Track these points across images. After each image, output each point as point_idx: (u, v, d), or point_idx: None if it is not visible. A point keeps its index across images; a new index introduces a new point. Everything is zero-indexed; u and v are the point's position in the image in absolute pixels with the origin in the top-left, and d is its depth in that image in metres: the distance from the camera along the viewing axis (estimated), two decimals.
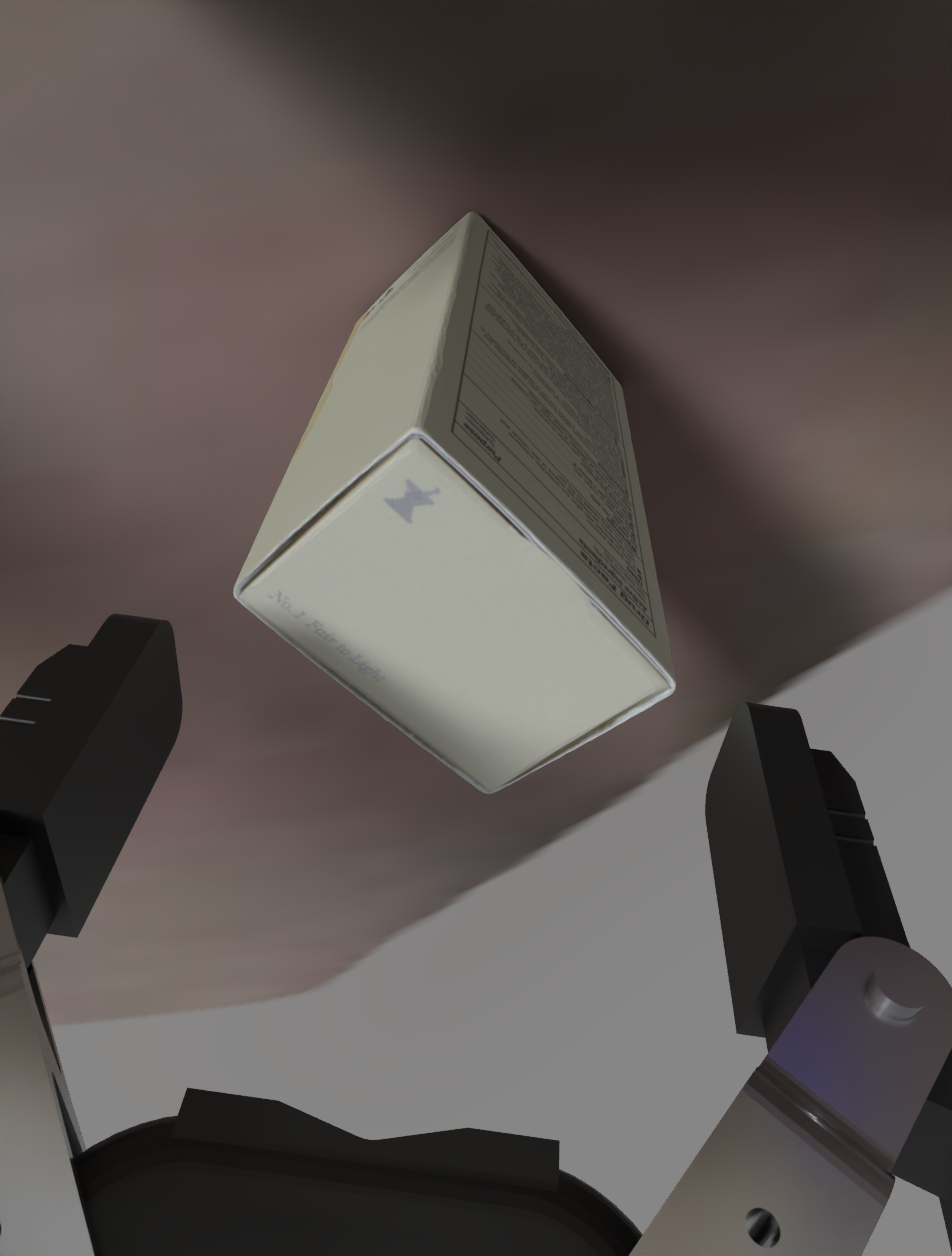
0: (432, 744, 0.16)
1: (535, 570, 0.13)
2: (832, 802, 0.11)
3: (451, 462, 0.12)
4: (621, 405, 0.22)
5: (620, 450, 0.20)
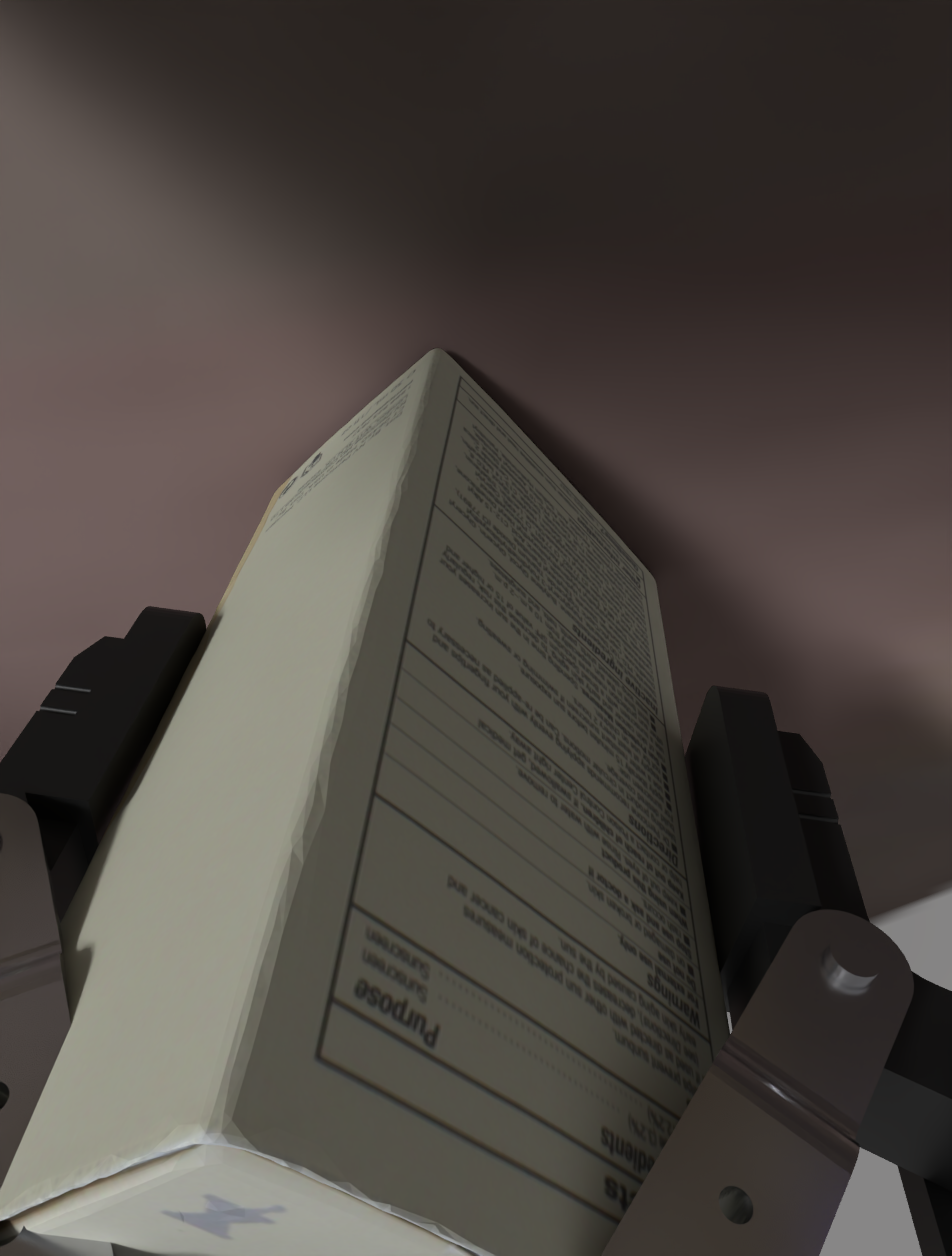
0: None
1: None
2: (798, 783, 0.11)
3: (304, 1172, 0.05)
4: (656, 624, 0.15)
5: (660, 741, 0.13)
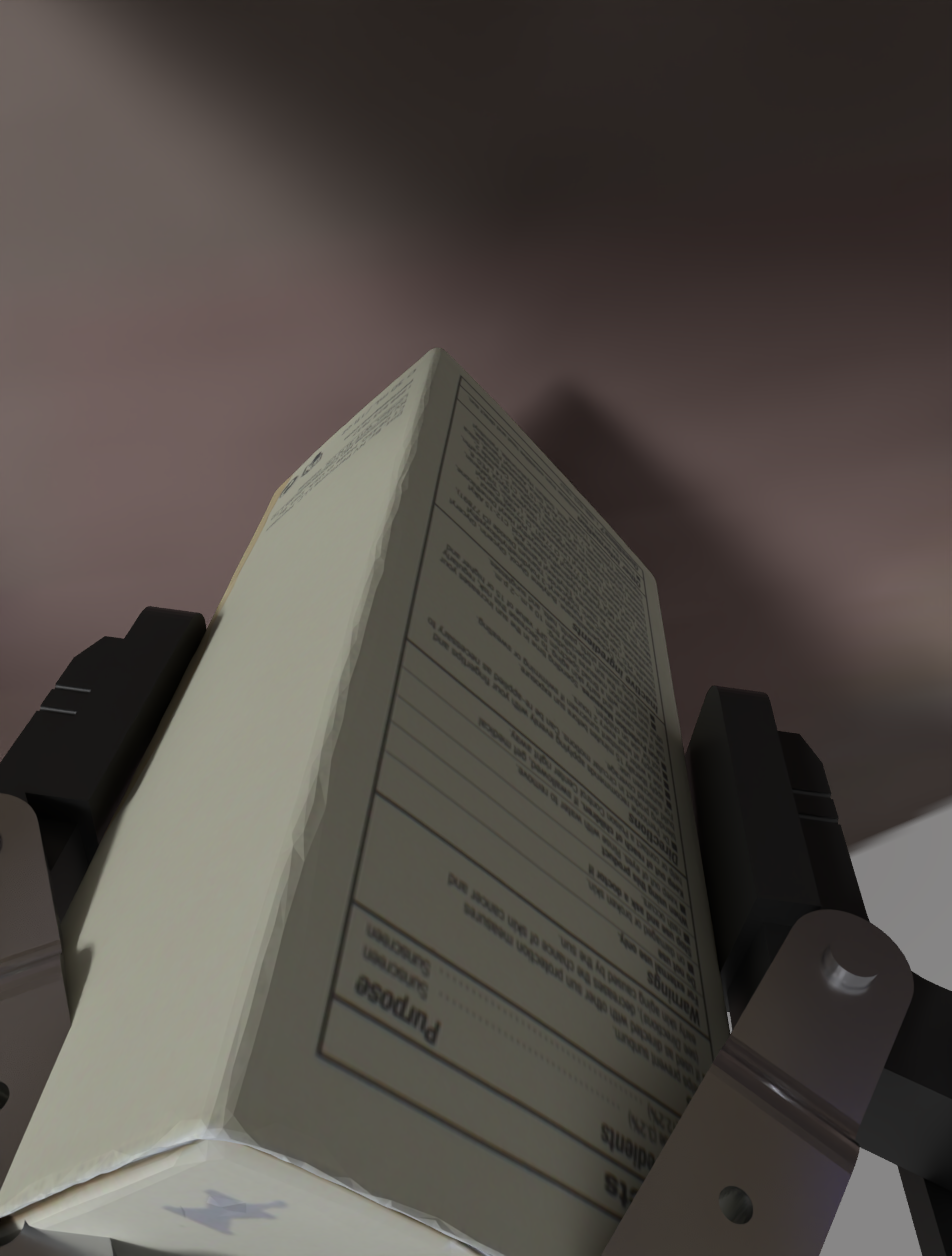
0: None
1: None
2: (798, 783, 0.11)
3: (307, 1167, 0.05)
4: (656, 623, 0.15)
5: (660, 740, 0.13)
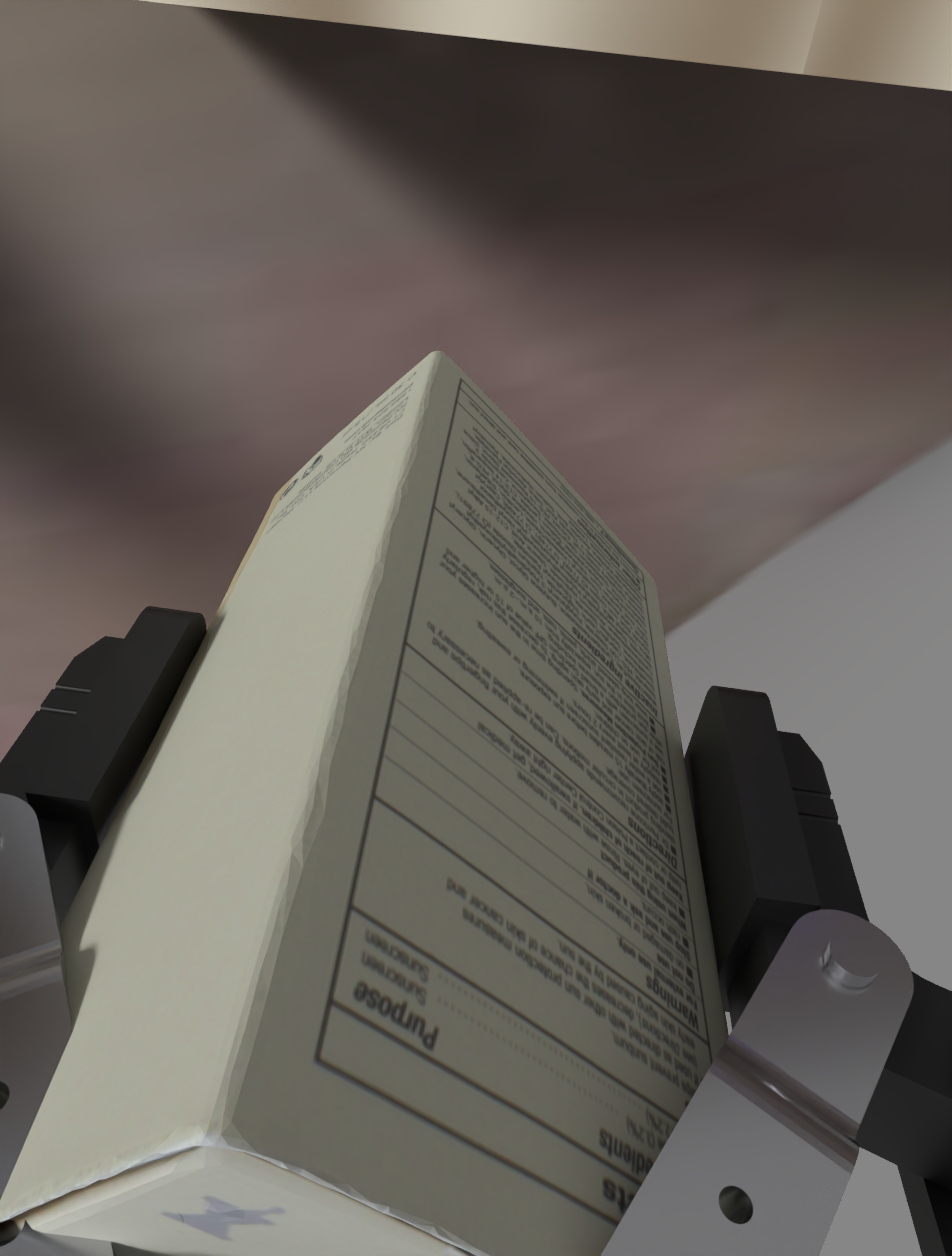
0: None
1: None
2: (798, 783, 0.11)
3: (303, 1173, 0.05)
4: (656, 626, 0.15)
5: (660, 743, 0.13)
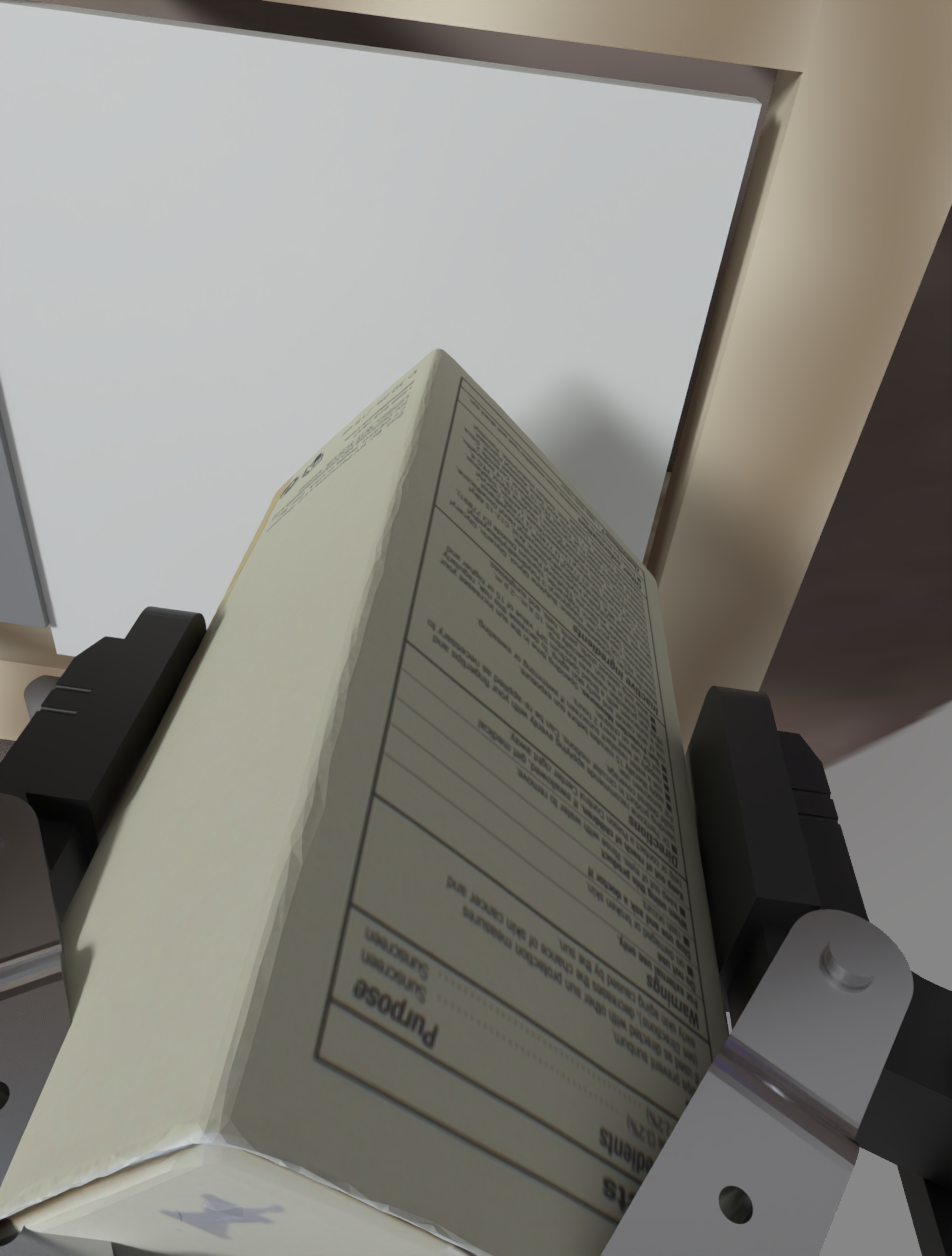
0: None
1: None
2: (798, 782, 0.11)
3: (304, 1172, 0.05)
4: (657, 625, 0.15)
5: (661, 742, 0.13)
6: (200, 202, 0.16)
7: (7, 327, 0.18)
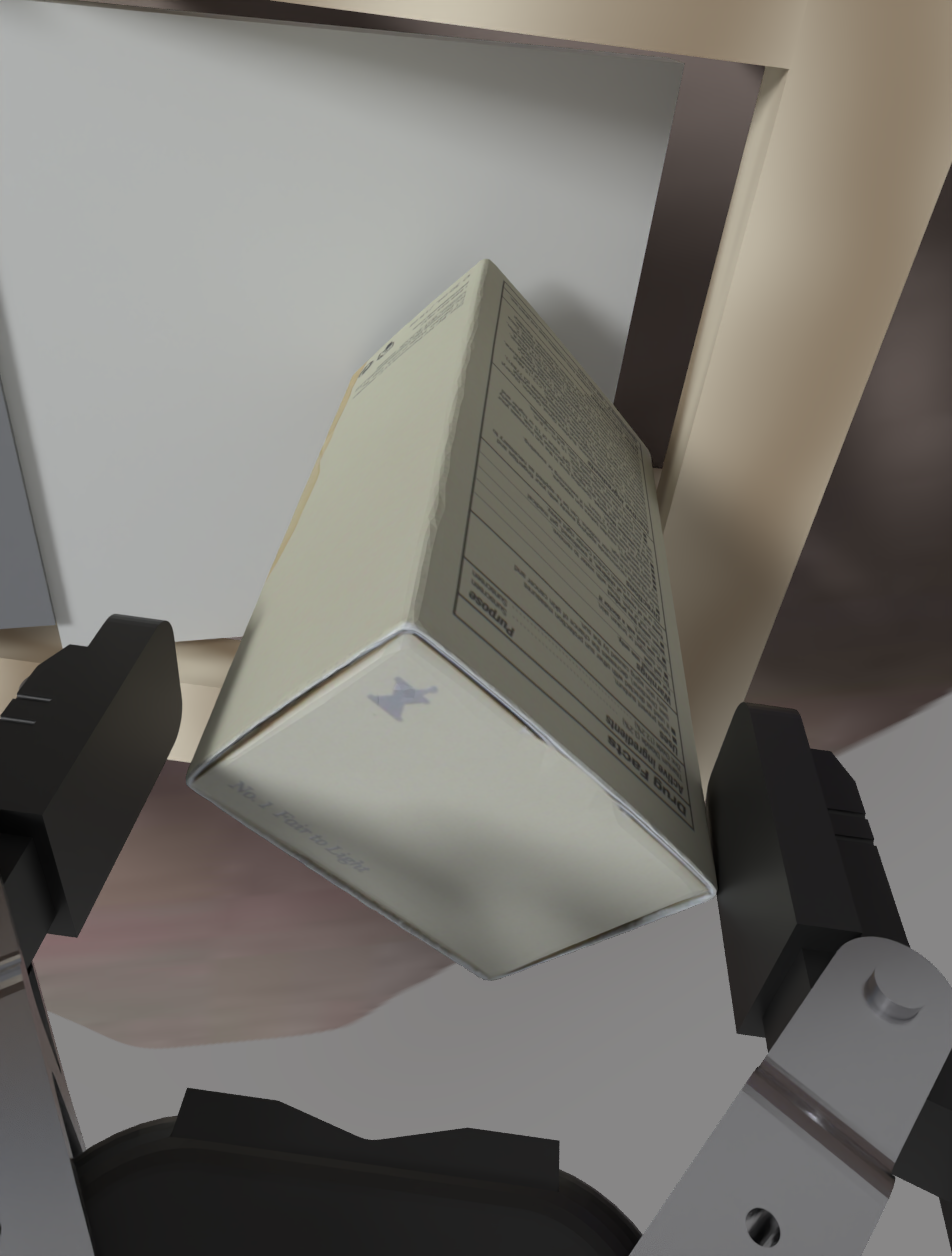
0: (425, 931, 0.13)
1: (552, 774, 0.11)
2: (832, 802, 0.11)
3: (452, 659, 0.10)
4: (650, 481, 0.20)
5: (650, 550, 0.17)
6: (220, 179, 0.18)
7: (18, 322, 0.18)
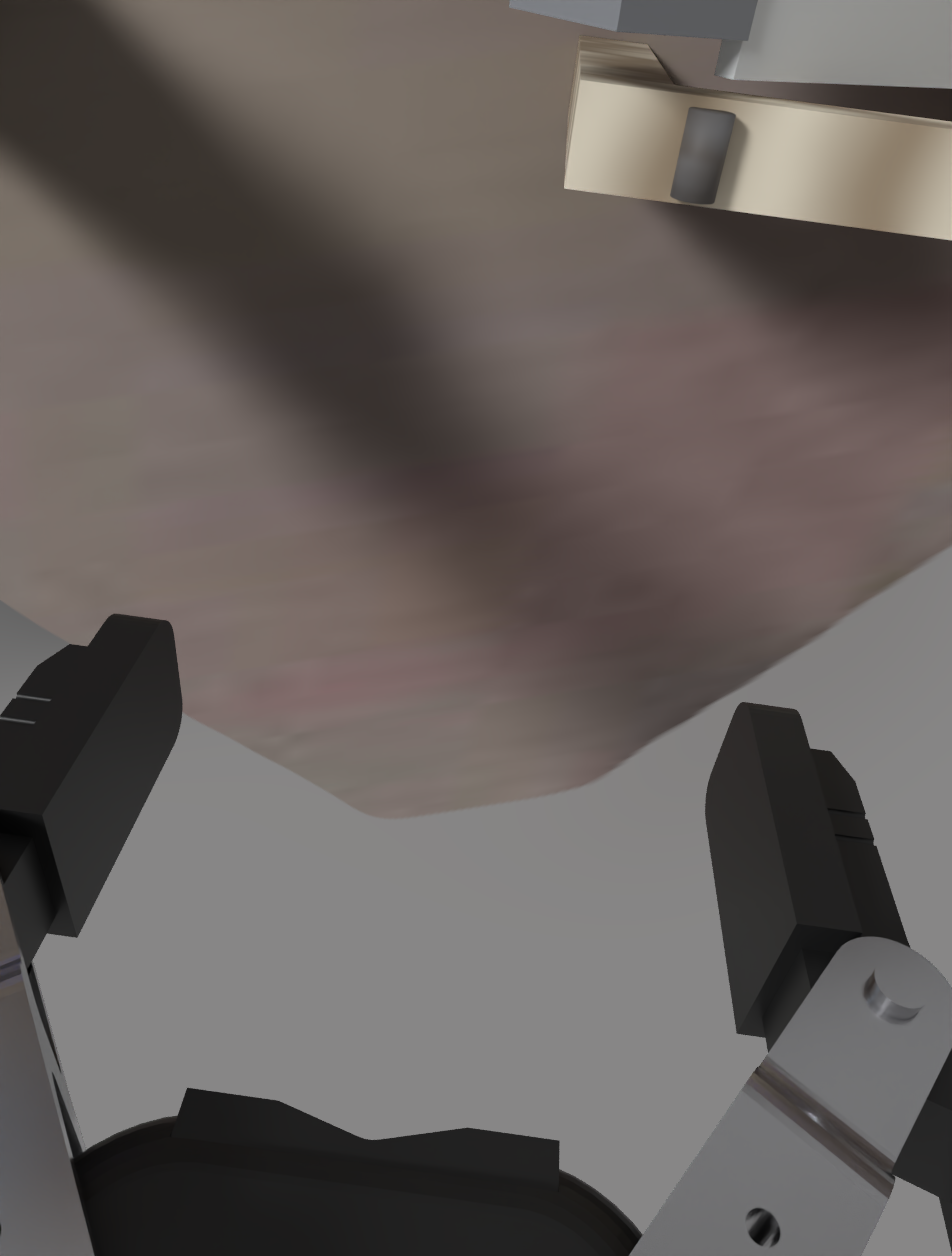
0: None
1: None
2: (832, 802, 0.11)
3: None
4: None
5: None
6: None
7: None
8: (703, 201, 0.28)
